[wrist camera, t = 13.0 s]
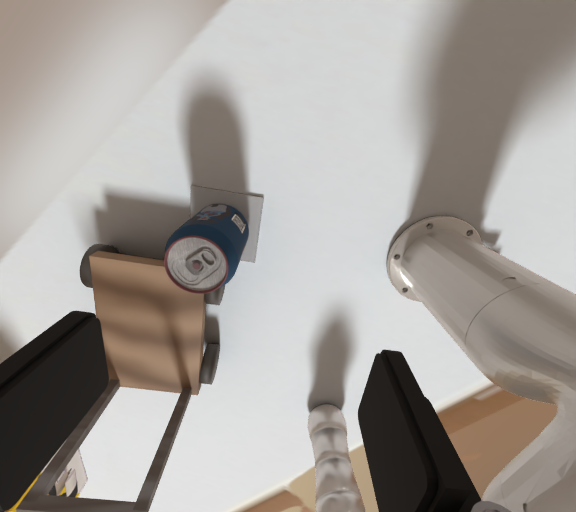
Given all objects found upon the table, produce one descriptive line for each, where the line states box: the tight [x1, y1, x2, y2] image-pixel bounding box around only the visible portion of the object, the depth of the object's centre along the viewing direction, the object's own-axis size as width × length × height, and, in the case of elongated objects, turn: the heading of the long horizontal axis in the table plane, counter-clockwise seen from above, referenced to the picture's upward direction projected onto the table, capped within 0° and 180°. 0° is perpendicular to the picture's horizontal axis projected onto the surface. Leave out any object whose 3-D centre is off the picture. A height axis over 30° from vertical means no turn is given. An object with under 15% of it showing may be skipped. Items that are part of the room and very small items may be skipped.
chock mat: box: [190, 185, 264, 263], centre depth 36 cm, size 9×9×1 cm
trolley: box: [16, 244, 225, 512], centre depth 31 cm, size 20×16×21 cm
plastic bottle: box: [308, 404, 365, 512], centre depth 40 cm, size 6×7×20 cm
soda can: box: [164, 204, 249, 294], centre depth 30 cm, size 7×7×12 cm
